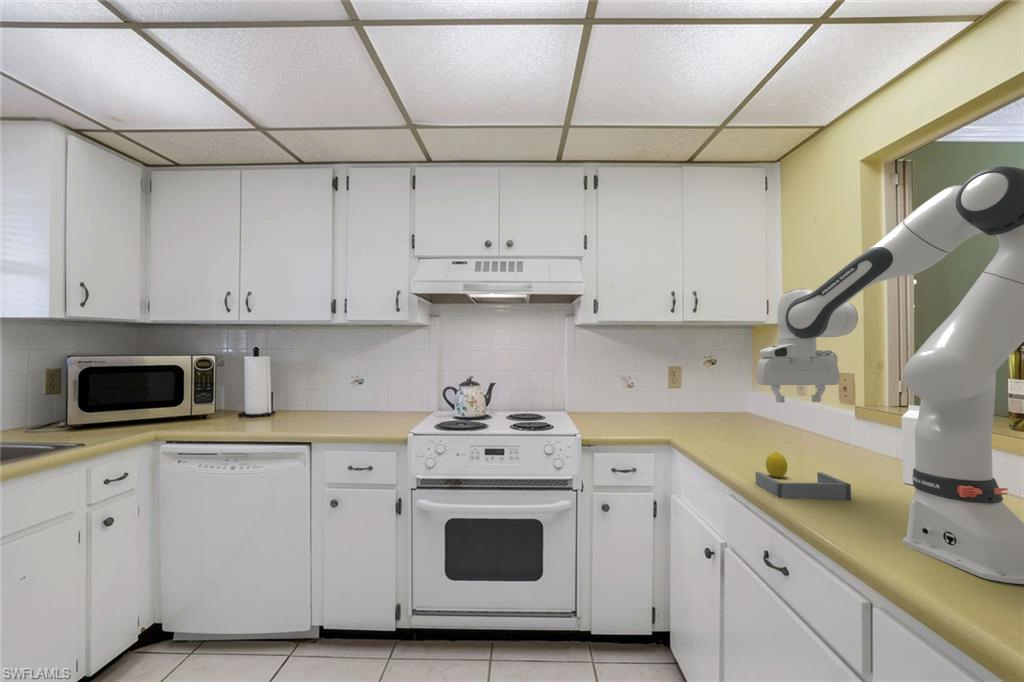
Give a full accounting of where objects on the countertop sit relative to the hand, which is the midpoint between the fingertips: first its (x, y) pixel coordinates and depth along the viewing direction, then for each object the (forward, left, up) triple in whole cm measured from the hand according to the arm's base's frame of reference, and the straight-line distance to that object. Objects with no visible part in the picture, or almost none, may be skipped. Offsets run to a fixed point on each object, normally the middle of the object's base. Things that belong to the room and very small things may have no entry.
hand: (798, 402), depth 127 cm
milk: (+8, -38, -24) cm, 46 cm away
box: (-1, 0, -24) cm, 24 cm away
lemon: (+13, 0, -24) cm, 27 cm away
